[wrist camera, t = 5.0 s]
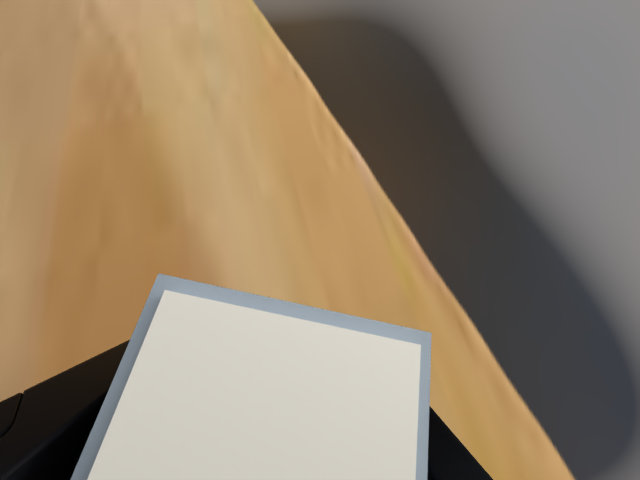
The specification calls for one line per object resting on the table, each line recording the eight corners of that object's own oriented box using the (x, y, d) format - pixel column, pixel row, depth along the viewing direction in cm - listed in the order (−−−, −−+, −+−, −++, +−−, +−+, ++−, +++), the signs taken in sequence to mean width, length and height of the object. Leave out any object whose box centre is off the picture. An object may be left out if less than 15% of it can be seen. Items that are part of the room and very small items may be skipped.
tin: (316, 462, 13) (432, 662, 4) (197, 440, 13) (10, 596, 4) (332, 362, 15) (438, 330, 6) (227, 340, 15) (153, 268, 5)
